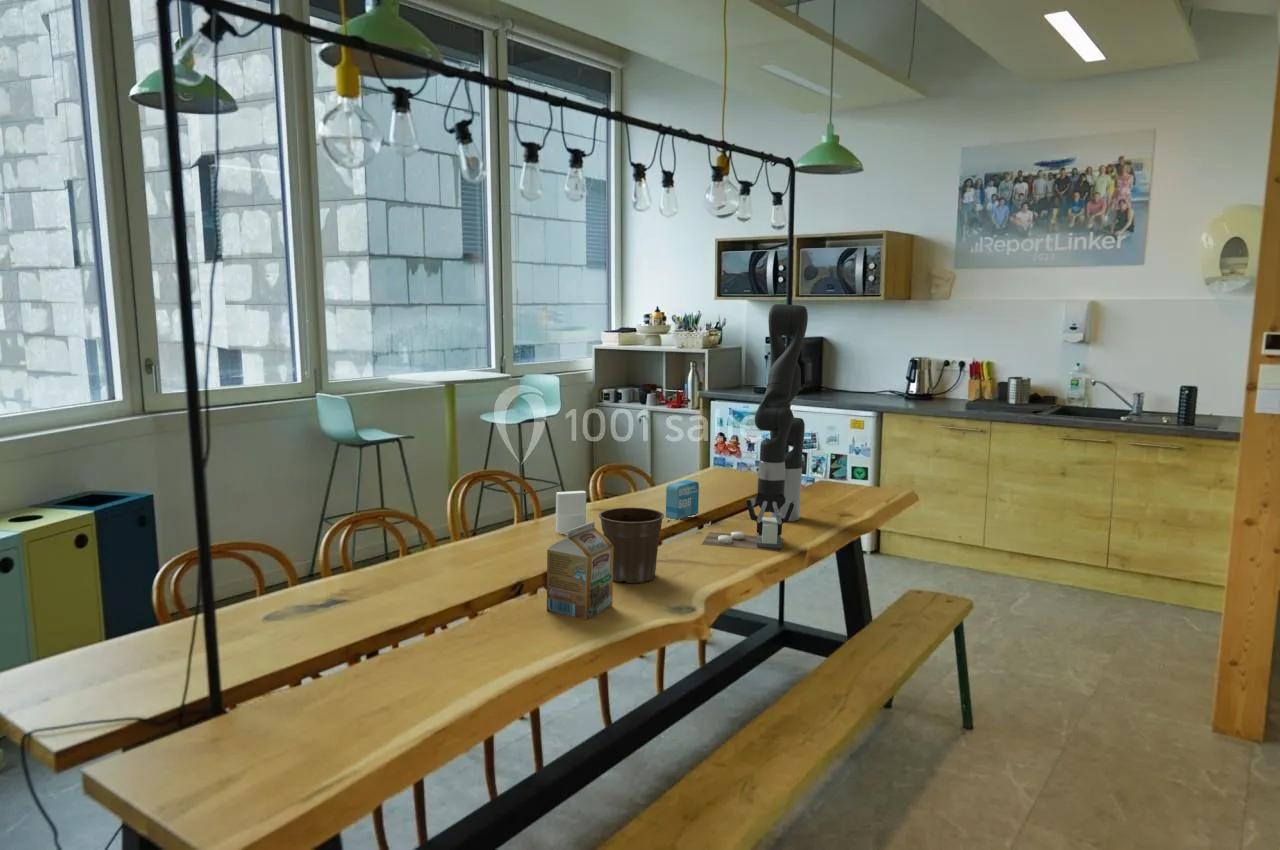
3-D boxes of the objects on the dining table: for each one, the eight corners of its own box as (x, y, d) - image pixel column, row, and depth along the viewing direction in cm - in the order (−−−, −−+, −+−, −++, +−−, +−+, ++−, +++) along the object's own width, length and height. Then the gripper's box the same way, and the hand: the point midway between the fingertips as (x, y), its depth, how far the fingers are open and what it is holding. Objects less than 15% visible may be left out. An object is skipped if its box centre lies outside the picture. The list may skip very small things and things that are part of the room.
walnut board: (709, 537, 257) (709, 532, 257) (783, 543, 252) (784, 538, 252) (701, 549, 243) (701, 544, 243) (780, 556, 238) (780, 551, 238)
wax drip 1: (719, 539, 249) (719, 534, 248) (732, 540, 248) (733, 535, 247) (717, 543, 245) (717, 538, 244) (731, 544, 244) (731, 539, 244)
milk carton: (573, 597, 201) (575, 518, 198) (612, 606, 196) (613, 524, 193) (546, 611, 192) (547, 527, 189) (586, 620, 187) (587, 534, 184)
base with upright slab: (560, 536, 254) (561, 496, 252) (552, 529, 262) (552, 490, 261) (589, 534, 257) (590, 494, 256) (580, 526, 266) (580, 488, 264)
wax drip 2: (727, 537, 251) (728, 532, 251) (738, 536, 253) (738, 531, 253) (737, 540, 247) (737, 534, 247) (747, 538, 250) (747, 533, 250)
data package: (676, 523, 272) (677, 486, 270) (665, 521, 275) (666, 484, 273) (698, 517, 281) (699, 481, 280) (687, 514, 284) (688, 479, 282)
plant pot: (585, 573, 219) (586, 511, 217) (636, 563, 229) (637, 503, 227) (623, 591, 206) (624, 525, 204) (675, 579, 216) (677, 516, 214)
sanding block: (755, 537, 251) (756, 516, 250) (780, 538, 250) (781, 518, 249) (756, 547, 241) (757, 525, 240) (782, 548, 240) (783, 526, 240)
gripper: (798, 475, 245) (795, 534, 247) (747, 472, 248) (745, 530, 251) (796, 480, 238) (793, 541, 240) (744, 477, 241) (742, 537, 243)
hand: (768, 535), depth 245 cm, fingers closed on sanding block, 4 cm apart
